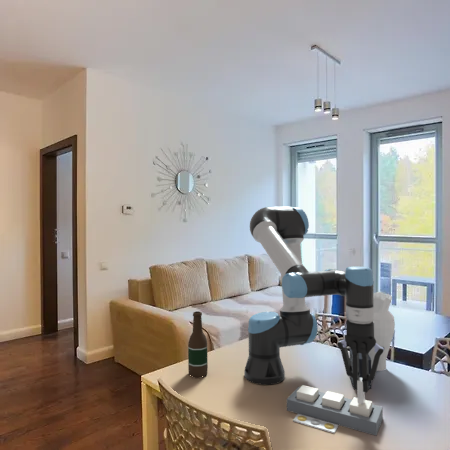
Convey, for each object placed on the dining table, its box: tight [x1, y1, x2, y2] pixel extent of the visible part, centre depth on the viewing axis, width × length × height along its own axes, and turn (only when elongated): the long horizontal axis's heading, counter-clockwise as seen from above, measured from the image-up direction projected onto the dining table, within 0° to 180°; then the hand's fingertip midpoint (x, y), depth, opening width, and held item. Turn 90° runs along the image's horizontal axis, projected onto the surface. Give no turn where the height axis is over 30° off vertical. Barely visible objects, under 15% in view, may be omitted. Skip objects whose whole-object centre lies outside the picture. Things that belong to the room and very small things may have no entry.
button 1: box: [297, 384, 320, 403], centre depth 114 cm, size 5×5×2 cm
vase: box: [369, 291, 396, 372], centre depth 145 cm, size 15×15×29 cm
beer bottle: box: [187, 310, 209, 378], centre depth 141 cm, size 8×8×24 cm
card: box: [292, 413, 339, 434], centre depth 105 cm, size 12×4×1 cm, turn 58°
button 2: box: [322, 390, 345, 410], centre depth 110 cm, size 5×5×2 cm
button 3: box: [350, 396, 373, 417], centre depth 106 cm, size 5×5×2 cm
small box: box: [348, 348, 372, 390], centre depth 132 cm, size 11×6×10 cm, turn 168°
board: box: [286, 386, 384, 436], centre depth 110 cm, size 26×10×4 cm, turn 58°
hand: (361, 401), depth 106 cm, fingers closed
